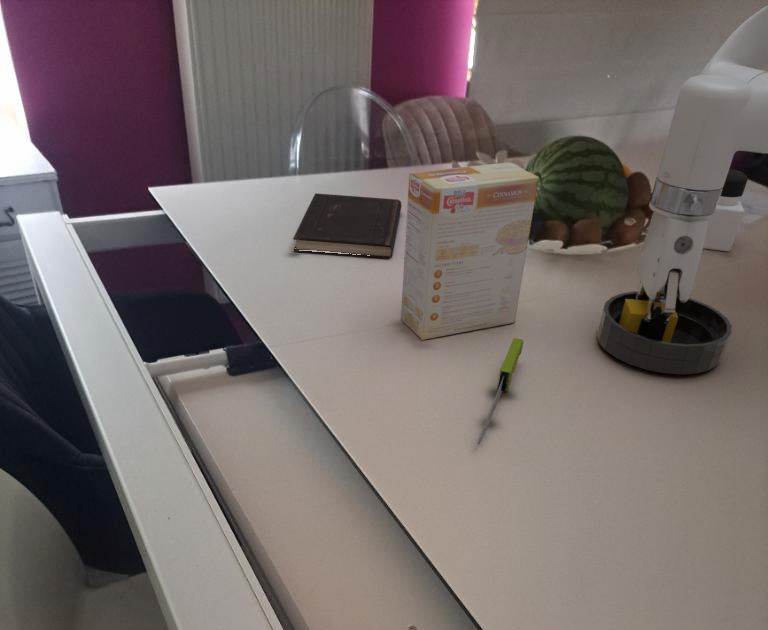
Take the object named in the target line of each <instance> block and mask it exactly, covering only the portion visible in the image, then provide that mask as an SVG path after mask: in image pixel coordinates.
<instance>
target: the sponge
mask: <svg viewBox="0 0 768 630" xmlns="http://www.w3.org/2000/svg"><path fill="white" fill-rule="evenodd" d="M661 305H662V303H660V302H655V305H654V309H655V308H656V307H660V306H661ZM647 306H648V301H646V300H633V299H625V303H624V307H623V311H622V314H621V318H620V322H619V325H621V326H622V327H624V328H625V329H627V330H629V331H632V332H634V333H636V334H637V333H638V329H639V326H640V323H641V319H642V318H644V319H645V315H646V310H647ZM654 309H653V310H654ZM677 320H678V315H677V313H676V311H675V312H674V313H673V314H672V315H670V318H669V322H668V324H667V326H666V329H665V333H664V336H663V339H662V341H663V342H668V343H670V342H671V339H672V336H673V332H674V329H675V326H676V323H677Z"/></svg>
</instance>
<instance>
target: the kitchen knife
mask: <svg viewBox="0 0 768 630" xmlns="http://www.w3.org/2000/svg"><path fill="white" fill-rule="evenodd" d="M511 341H512V342H511V344H510V346H509V348H508V351H507V353H506V356H505V359H504V361H503V364H502V366H501V369H500V372H499V379H498V382H497V383H498V384H497V391H496V394H495V396H494V399H493V402H492V405H491V407H490V409H489V411H488V412H489V413H488V414H487V417H486V420H485V423H484V425H483V428H482V430H481V433H480V435H479V437H478V440H477V445H478V446H479V445H480V444H481V443H482V441H483V440H484V438H485V434H486V432H487V429H488V428H489V425H490V423H491V420H492V417H493V416H494V413H495V410H496V408H497V406H498V403H499V402H500V398H501V396H502V393H503V392H508V391H509V389H510V385H511V379H512V375H513V373H514V371H515V369H516V366H517V365H518V361H519V357H520V356H521V355H522V351H523V348H524V347H523V346H524V339H522V338H516V337H515V338H513V339H512V340H511Z"/></svg>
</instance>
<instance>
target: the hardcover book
mask: <svg viewBox="0 0 768 630" xmlns="http://www.w3.org/2000/svg"><path fill="white" fill-rule="evenodd" d="M401 212H402V201H401V200H400V199H396V198H383V197H372V196H371V197H369V196H358V195H357V196H355V195H342V194H330V193H317V192H315V193H314V195H313V197H312V199H311V201H310V203H309V205H308V207H307V208H306V211H305V213H304V216H303V218H302V219H301V221H300V223H299V226H298V227H297V230H296V232H295V233H294V235H293V238H292V239H293V241H295V246H294V248H296V249H294V248H293V252H295V253H306V254H319V255H331V256H343V257H345V256H346V257H356V258H369V259H382V260H389V259H391V258H392V257H393V254H394V253H393V252H394V248H395V243H396V237H397V231H398V227H399V221H400V216H401ZM299 250H317V251H330V252H341V253H349V254H338V253H325V252H312V251H299ZM350 253H351V254H350ZM352 254H356V255H352ZM357 254H361V255H357ZM367 255H370V256H367Z"/></svg>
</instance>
